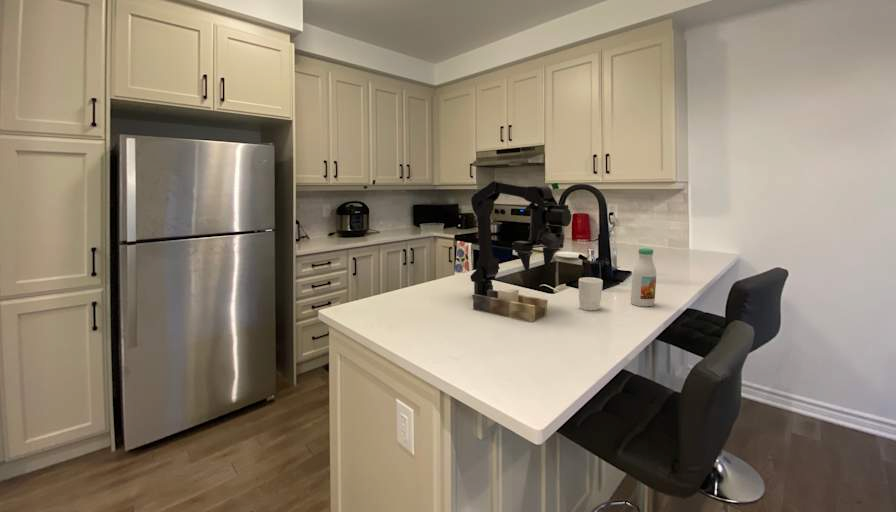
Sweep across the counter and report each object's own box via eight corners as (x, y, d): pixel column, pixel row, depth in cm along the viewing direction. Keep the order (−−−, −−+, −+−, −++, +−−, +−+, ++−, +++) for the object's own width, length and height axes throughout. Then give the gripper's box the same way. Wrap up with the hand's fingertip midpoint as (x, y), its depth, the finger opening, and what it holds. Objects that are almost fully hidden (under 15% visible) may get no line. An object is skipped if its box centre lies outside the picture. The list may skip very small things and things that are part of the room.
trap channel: (473, 308, 146) (473, 294, 145) (489, 302, 154) (489, 289, 153) (532, 321, 131) (532, 306, 131) (547, 314, 139) (547, 299, 138)
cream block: (497, 304, 142) (498, 290, 141) (505, 301, 146) (505, 287, 145) (510, 307, 139) (510, 292, 138) (518, 303, 143) (518, 289, 142)
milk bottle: (630, 306, 148) (634, 249, 145) (630, 300, 155) (633, 246, 152) (655, 308, 145) (659, 251, 142) (653, 302, 152) (657, 247, 149)
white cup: (598, 305, 150) (599, 277, 148) (604, 311, 142) (605, 282, 140) (575, 304, 150) (576, 277, 149) (580, 311, 143) (581, 282, 141)
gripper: (535, 228, 129) (533, 277, 132) (577, 224, 139) (574, 271, 142) (511, 224, 138) (510, 271, 141) (552, 222, 148) (549, 265, 151)
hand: (537, 269), depth 143 cm, fingers open, 9 cm apart
